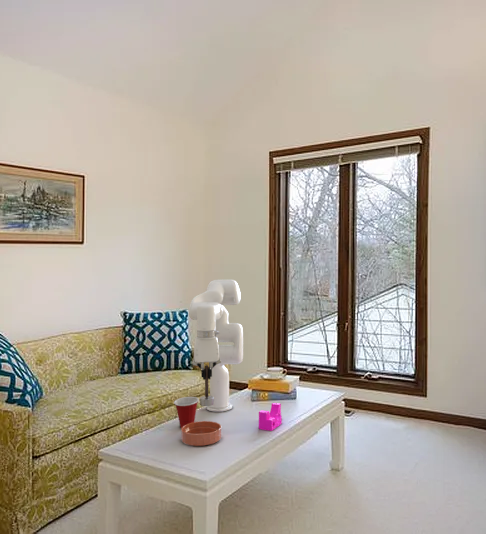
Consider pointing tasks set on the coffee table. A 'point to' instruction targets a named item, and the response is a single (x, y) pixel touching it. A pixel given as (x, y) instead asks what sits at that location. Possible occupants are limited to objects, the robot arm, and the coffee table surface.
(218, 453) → the coffee table surface
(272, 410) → the toy block
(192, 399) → the plastic cup
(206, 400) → the meat pounder
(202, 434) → the bowl
